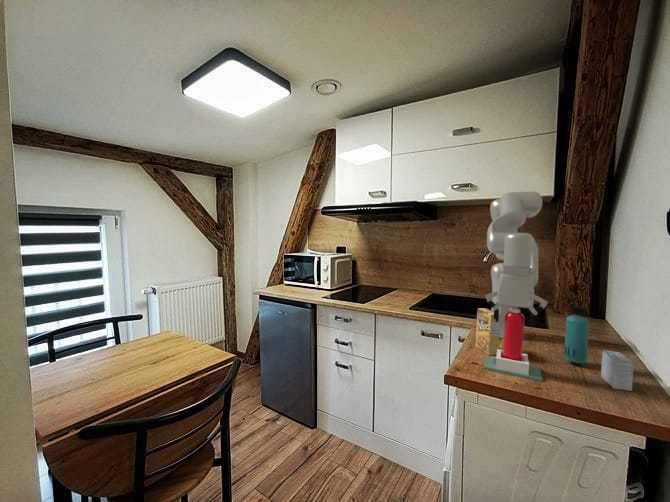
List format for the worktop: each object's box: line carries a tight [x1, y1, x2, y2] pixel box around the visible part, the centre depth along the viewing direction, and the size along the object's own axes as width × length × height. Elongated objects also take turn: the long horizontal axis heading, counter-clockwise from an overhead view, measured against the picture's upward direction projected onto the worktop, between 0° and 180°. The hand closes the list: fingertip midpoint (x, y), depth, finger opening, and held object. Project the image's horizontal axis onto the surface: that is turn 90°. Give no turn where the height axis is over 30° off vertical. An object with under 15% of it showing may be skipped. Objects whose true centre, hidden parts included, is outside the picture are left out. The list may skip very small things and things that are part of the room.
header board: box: [483, 349, 543, 383], centre depth 99 cm, size 10×16×4 cm, turn 60°
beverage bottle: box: [563, 305, 590, 364], centre depth 103 cm, size 6×7×20 cm
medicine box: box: [600, 350, 635, 392], centre depth 89 cm, size 8×4×9 cm, turn 158°
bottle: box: [502, 307, 525, 362], centre depth 98 cm, size 5×5×20 cm
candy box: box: [475, 307, 501, 356], centre depth 113 cm, size 9×4×15 cm, turn 6°
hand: (513, 323), depth 98 cm, fingers open, 9 cm apart
